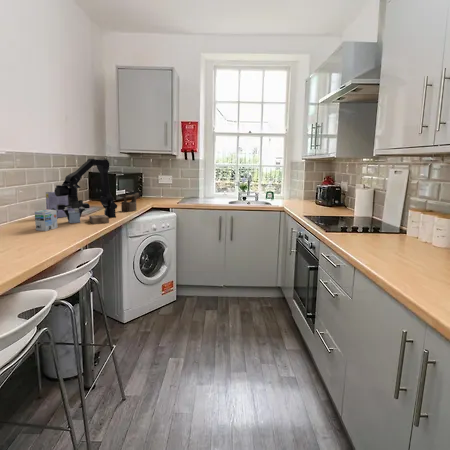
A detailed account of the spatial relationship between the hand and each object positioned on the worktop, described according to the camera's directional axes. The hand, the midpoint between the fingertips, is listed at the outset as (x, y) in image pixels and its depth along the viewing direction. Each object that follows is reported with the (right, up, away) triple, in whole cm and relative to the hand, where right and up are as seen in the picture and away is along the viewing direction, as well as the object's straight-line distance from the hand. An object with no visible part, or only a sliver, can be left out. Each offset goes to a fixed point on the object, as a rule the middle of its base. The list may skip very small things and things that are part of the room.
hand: (74, 219), depth 232 cm
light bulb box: (-6, -6, -23) cm, 24 cm away
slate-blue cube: (0, -1, 0) cm, 1 cm away
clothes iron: (+22, +8, +55) cm, 60 cm away
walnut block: (+15, -2, +3) cm, 15 cm away
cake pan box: (-16, +2, +18) cm, 24 cm away
